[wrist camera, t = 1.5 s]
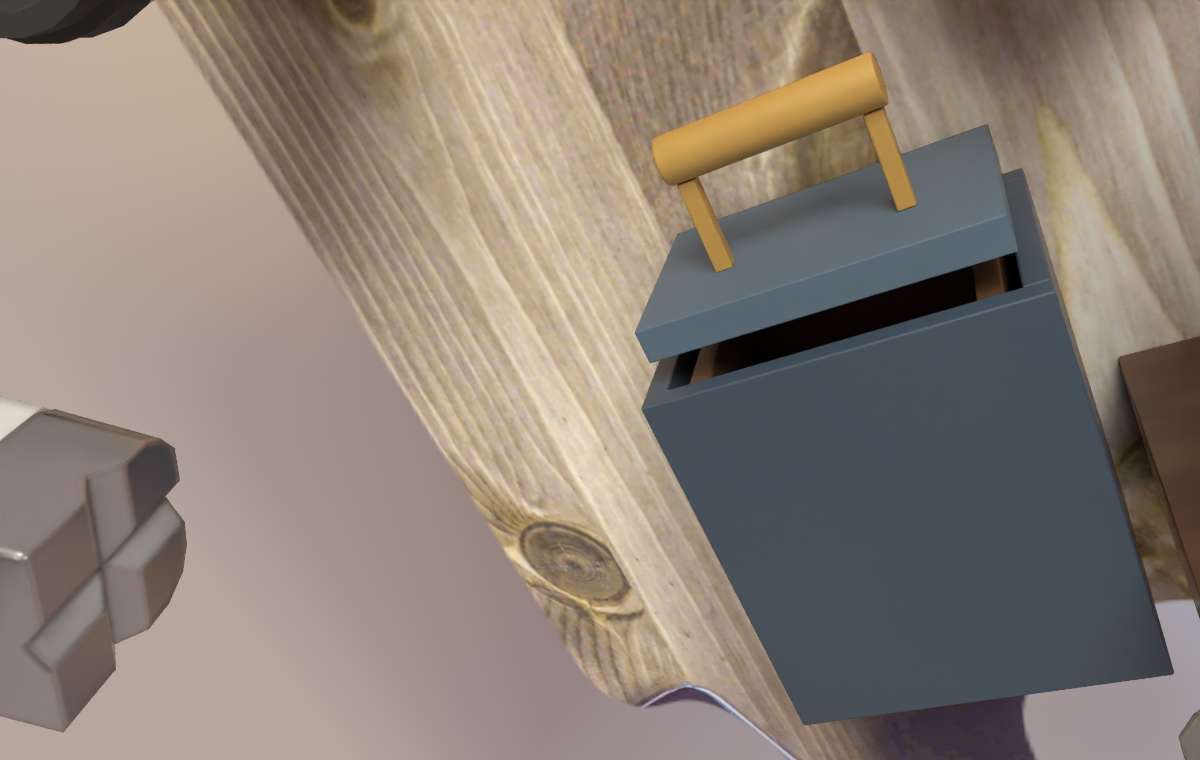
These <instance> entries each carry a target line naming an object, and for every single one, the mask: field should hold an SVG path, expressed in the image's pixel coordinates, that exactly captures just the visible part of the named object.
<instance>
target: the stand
mask: <svg viewBox="0 0 1200 760" xmlns="http://www.w3.org/2000/svg"><path fill="white" fill-rule="evenodd" d="M1119 362H1120V366H1121V369H1122V372H1123V376H1124V379H1125V383H1126V386H1127V389H1128V393H1129V396H1130V400H1131V403H1132V407H1133V410H1134V413H1135V417H1136V420H1137V424H1138V427H1139V430H1140V434H1141V437H1142V441H1143V444H1144V448H1145V451H1146V454H1147V458H1148V461H1149V465H1150V468H1151V471H1152V475H1153V478H1154V482H1155V485H1156V488H1157V491H1158V494H1159V497H1160V500H1161V503H1162V506H1163V509H1164V512H1165V515H1166V518H1167V521H1168V524H1169V527H1170V530H1171V533H1172V536H1173V539H1174V542H1175V545H1176V548H1177V551H1178V554H1179V557H1180V560H1181V563H1182V566H1183V569H1184V573H1185V576H1186V579H1187V582H1188V585H1189V588H1190V591H1191V594H1192V597H1193V600H1194V603H1195V606H1196V609H1197V612H1198V615H1199V618H1200V337H1196V338H1192V339H1188V340H1184V341H1180V342H1176V343H1172V344H1168V345H1164V346H1160V347H1156V348H1152V349H1148V350H1145V351H1141V352H1137V353H1133V354H1129V355H1125V356H1121V357H1119Z"/></svg>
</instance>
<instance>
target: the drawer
mask: <svg viewBox="0 0 1200 760" xmlns="http://www.w3.org/2000/svg"><path fill="white" fill-rule="evenodd" d="M887 104H888V93H887V89H886V86H885V82H884V79H883V76H882V73H881V70H880V67H879V65H878V62H877V60H876V58H875V56H874V54H873V53H872V52H867V53H865V54H862V55H860V56H857V57H855V58H852V59H850V60H847V61H845V62H842V63H840V64H837V65H835V66H832V67H830V68H827V69H825V70H822V71H820V72H817V73H815V74H812V75H810V76H807V77H805V78H802V79H800V80H797V81H795V82H792V83H790V84H787V85H785V86H782V87H780V88H777V89H775V90H772V91H770V92H767V93H765V94H762V95H760V96H757V97H755V98H752V99H750V100H747V101H745V102H742V103H740V104H737V105H735V106H732V107H730V108H727V109H725V110H722V111H720V112H717V113H715V114H712V115H710V116H707V117H705V118H702V119H700V120H697V121H695V122H692V123H690V124H687V125H685V126H682V127H680V128H677V129H675V130H672V131H670V132H668V133H665V134H663V135H660V136H658V137H655V138H654V139H653V141H652V152H653V157H654V161H655V164H656V167H657V169H658V171H659V173H660V175H661V177H662V178H663V180H664V181H665V182H666V183H667V184H668V185H670V186H674V185H677V184H678V189H679V191H680V194H681V196H682V198H683V200H684V203H685V205H686V207H687V209H688V211H689V214H690V216H691V218H692V220H693V222H694V225H695V227H696V228H693V229H690V230H687V231H685V232H682V233H679V234H677V237H676V239H675V241H674V244H673V246H672V248H671V251H670V253H669V255H668V257H667V260H666V262H665V264H664V267H663V269H662V271H661V274H660V276H659V278H658V280H657V283H656V285H655V287H654V290H653V292H652V294H651V297H650V299H649V301H648V303H647V306H646V308H645V310H644V313H643V315H642V317H641V320H640V322H639V324H638V326H637V329H636V331H635V334H636V336H637V338H638V340H639V342H640V344H641V346H642V348H643V350H644V352H645V354H646V356H647V358H648V360H649V362H650V363H652V362H656V361H659V360H662V359H666V358H669V357H672V356H676V355H679V354H682V353H685V352H689V351H692V350H695V349H699V348H701V349H700V352H699V355H698V359H697V362H696V365H695V368H694V371H693V374H692V377H691V381H690V384H692V383H695V382H699V381H702V380H706V379H709V378H713V377H716V376H719V375H723V374H726V373H730V372H733V371H737V370H740V369H744V368H747V367H751V366H754V365H757V364H761V363H764V362H768V361H771V360H775V359H778V358H782V357H785V356H789V355H792V354H795V353H799V352H802V351H806V350H809V349H813V348H816V347H820V346H823V345H827V344H830V343H833V342H837V341H840V340H844V339H847V338H851V337H854V336H858V335H861V334H865V333H868V332H871V331H875V330H878V329H882V328H885V327H889V326H892V325H896V324H899V323H903V322H906V321H909V320H913V319H916V318H920V317H923V316H927V315H930V314H934V313H937V312H941V311H944V310H948V309H951V308H954V307H958V306H961V305H965V304H968V303H972V302H975V301H979V300H982V299H986V298H989V297H992V296H996V295H999V294H1003V293H1006V292H1010V291H1013V290H1017V287H1016V284H1015V281H1014V277H1013V274H1012V271H1011V268H1010V265H1009V262H1008V259H1007V256H1006V255H1008V254H1012V253H1015V252H1018V246H1017V241H1016V237H1015V232H1014V228H1013V223H1012V219H1011V214H1010V209H1009V205H1008V200H1007V196H1006V191H1005V187H1004V182H1003V177H1002V173H1001V168H1000V164H999V159H998V155H997V152H996V148H995V145H994V142H993V139H992V136H991V133H990V130H989V126H988V125H987V124H986V125H983V126H980V127H978V128H975V129H972V130H969V131H966V132H963V133H961V134H958V135H955V136H952V137H949V138H947V139H944V140H941V141H938V142H935V143H932V144H930V145H927V146H924V147H921V148H918V149H916V150H913V151H910V152H907V153H904V154H902V155H901V153H900V150H899V147H898V145H897V142H896V139H895V136H894V133H893V130H892V128H891V125H890V122H889V119H888V116H887V114H886V111H885V108H884V106H886V105H887ZM863 114H864V116H863V119H864V121H865V124H866V127H867V129H868V132H869V135H870V138H871V140H872V143H873V146H874V149H875V151H876V154H877V157H878V159H879V163H876V164H873V165H871V166H868V167H865V168H862V169H859V170H856V171H854V172H851V173H848V174H845V175H842V176H840V177H837V178H834V179H831V180H828V181H825V182H823V183H820V184H817V185H814V186H811V187H809V188H806V189H803V190H800V191H797V192H794V193H792V194H789V195H786V196H783V197H780V198H778V199H775V200H772V201H769V202H766V203H764V204H761V205H758V206H755V207H752V208H749V209H747V210H744V211H741V212H738V213H735V214H733V215H730V216H727V217H724V218H721V219H718V220H717V218H716V216H715V214H714V212H713V209H712V207H711V205H710V202H709V200H708V198H707V196H706V193H705V191H704V189H703V187H702V184H701V182H700V180H699V178H698V176H701V175H703V174H706V173H709V172H711V171H714V170H717V169H719V168H722V167H724V166H727V165H730V164H732V163H735V162H738V161H740V160H743V159H746V158H748V157H751V156H754V155H756V154H759V153H762V152H764V151H767V150H770V149H772V148H775V147H778V146H780V145H783V144H786V143H788V142H791V141H794V140H796V139H799V138H802V137H804V136H807V135H809V134H812V133H815V132H817V131H820V130H823V129H825V128H828V127H831V126H833V125H836V124H839V123H841V122H844V121H847V120H849V119H852V118H855V117H857V116H860V115H863Z"/></svg>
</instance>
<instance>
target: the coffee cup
mask: <svg viewBox="0 0 1200 760" xmlns="http://www.w3.org/2000/svg"><path fill="white" fill-rule="evenodd" d="M152 1H154V0H0V38H7V39H11V40H14V41H18V42H21V43H25V44H52V43H53V44H54V43H55V44H58V43H59V44H60V43H65V42H69V41H72V40H75V39H77V38H89V37H95V36H97V35H100V34H102V33H106V32H108V31H111V30H114V29H116V28H119V27H122V26H124V25H125V24H126V23H127V22H128V21H130V20H131V19H132V18H133V17H134V16H135V15H137V14H138V13H139V12H140V11H141V10H142V9H143V8H144V7H146V6H147V5H148V4H149V3H150V2H152Z"/></svg>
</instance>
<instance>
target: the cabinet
mask: <svg viewBox="0 0 1200 760" xmlns="http://www.w3.org/2000/svg"><path fill="white" fill-rule="evenodd" d="M1002 177H1003V182H1004V187H1005V191H1006V196H1007V200H1008V205H1009V209H1010V214H1011V219H1012V223H1013V228H1014V232H1015V237H1016V241H1017V246H1018V252H1015V253H1012V254H1008V255H1006V256H1007V259H1008V262H1009V265H1010V268H1011V271H1012V274H1013V277H1014V281H1015V284H1016V287H1017V290H1013V291H1010V292H1006V293H1003V294H999V295H996V296H992V297H989V298H986V299H982V300H979V301H975V302H972V303H968V304H965V305H961V306H958V307H954V308H951V309H948V310H944V311H941V312H937V313H934V314H930V315H927V316H923V317H920V318H916V319H913V320H909V321H906V322H903V323H899V324H896V325H892V326H889V327H885V328H882V329H878V330H875V331H871V332H868V333H865V334H861V335H858V336H854V337H851V338H847V339H844V340H840V341H837V342H833V343H830V344H827V345H823V346H820V347H816V348H813V349H809V350H806V351H802V352H799V353H795V354H792V355H789V356H785V357H782V358H778V359H775V360H771V361H768V362H764V363H761V364H757V365H754V366H751V367H747V368H744V369H740V370H737V371H733V372H730V373H726V374H723V375H719V376H716V377H713V378H709V379H706V380H702V381H699V382H695V383H692V384H690V381H691V377H692V374H693V371H694V368H695V365H696V362H697V359H698V355H699V352H700V349H701V348H699V349H695V350H692V351H689V352H685V353H682V354H679V355H676V356H672V357H669V358H666V359H662V360H660V361H659V363H658V366H657V369H656V371H655V374H654V377H653V379H652V382H651V384H650V387H649V390H648V392H647V395H646V396H647V397H646V398H645V401H644V404H643V406H642V411H643V413H644V415H645V417H646V419H647V421H648V423H649V425H650V427H651V429H652V431H653V433H654V435H655V437H656V439H657V441H658V443H659V444H660V446H661V448H662V450H663V452H664V454H665V456H666V458H667V460H668V462H669V464H670V466H671V468H672V470H673V472H674V474H675V476H676V478H677V479H678V481H679V483H680V485H681V487H682V489H683V491H684V493H685V495H686V497H687V499H688V501H689V503H690V505H691V507H692V509H693V511H694V513H695V515H696V516H697V518H698V520H699V522H700V524H701V526H702V528H703V530H704V532H705V534H706V536H707V538H708V540H709V542H710V544H711V546H712V548H713V550H714V551H715V553H716V555H717V557H718V559H719V561H720V563H721V565H722V567H723V569H724V571H725V573H726V575H727V577H728V579H729V581H730V583H731V585H732V587H733V588H734V590H735V592H736V594H737V596H738V598H739V600H740V602H741V604H742V606H743V608H744V610H745V612H746V614H747V616H748V618H749V620H750V622H751V624H752V625H753V627H754V629H755V631H756V633H757V635H758V637H759V639H760V641H761V643H762V645H763V647H764V649H765V651H766V653H767V655H768V657H769V659H770V660H771V662H772V664H773V666H774V668H775V670H776V672H777V674H778V676H779V678H780V680H781V682H782V684H783V686H784V688H785V690H786V692H787V694H788V696H789V697H790V699H791V701H792V703H793V705H794V707H795V709H796V711H797V713H798V715H799V717H800V719H801V721H802V723H803V724H804V725H809V724H817V723H824V722H831V721H839V720H846V719H853V718H860V717H868V716H875V715H882V714H889V713H897V712H904V711H911V710H919V709H926V708H933V707H940V706H948V705H955V704H962V703H970V702H977V701H984V700H991V699H999V698H1006V697H1013V696H1021V695H1028V694H1035V693H1042V692H1050V691H1057V690H1064V689H1071V688H1079V687H1086V686H1093V685H1101V684H1108V683H1115V682H1122V681H1130V680H1137V679H1144V678H1151V677H1159V676H1166V675H1172V674H1173V673H1174V670H1173V667H1172V664H1171V660H1170V657H1169V653H1168V650H1167V646H1166V642H1165V639H1164V635H1163V632H1162V628H1161V625H1160V621H1159V618H1158V614H1157V611H1156V608H1155V604H1154V600H1153V597H1152V593H1151V590H1150V586H1149V583H1148V579H1147V576H1146V572H1145V569H1144V565H1143V562H1142V558H1141V555H1140V551H1139V548H1138V544H1137V541H1136V537H1135V534H1134V530H1133V527H1132V523H1131V520H1130V516H1129V513H1128V509H1127V506H1126V502H1125V499H1124V495H1123V492H1122V489H1121V485H1120V482H1119V479H1118V476H1117V472H1116V469H1115V466H1114V463H1113V459H1112V456H1111V453H1110V450H1109V447H1108V443H1107V440H1106V437H1105V434H1104V430H1103V427H1102V424H1101V421H1100V417H1099V414H1098V411H1097V408H1096V404H1095V401H1094V398H1093V395H1092V392H1091V388H1090V385H1089V382H1088V379H1087V375H1086V372H1085V369H1084V366H1083V362H1082V359H1081V356H1080V353H1079V349H1078V346H1077V343H1076V340H1075V337H1074V333H1073V330H1072V327H1071V324H1070V320H1069V317H1068V314H1067V311H1066V307H1065V304H1064V301H1063V298H1062V294H1061V291H1060V288H1059V285H1058V281H1057V278H1056V275H1055V272H1054V269H1053V265H1052V262H1051V259H1050V256H1049V252H1048V249H1047V246H1046V243H1045V239H1044V236H1043V233H1042V230H1041V226H1040V223H1039V220H1038V217H1037V214H1036V210H1035V207H1034V204H1033V201H1032V197H1031V194H1030V191H1029V188H1028V184H1027V181H1026V178H1025V175H1024V171H1023V169H1017V170H1014V171H1011V172H1008V173H1005V174H1002Z"/></svg>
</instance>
